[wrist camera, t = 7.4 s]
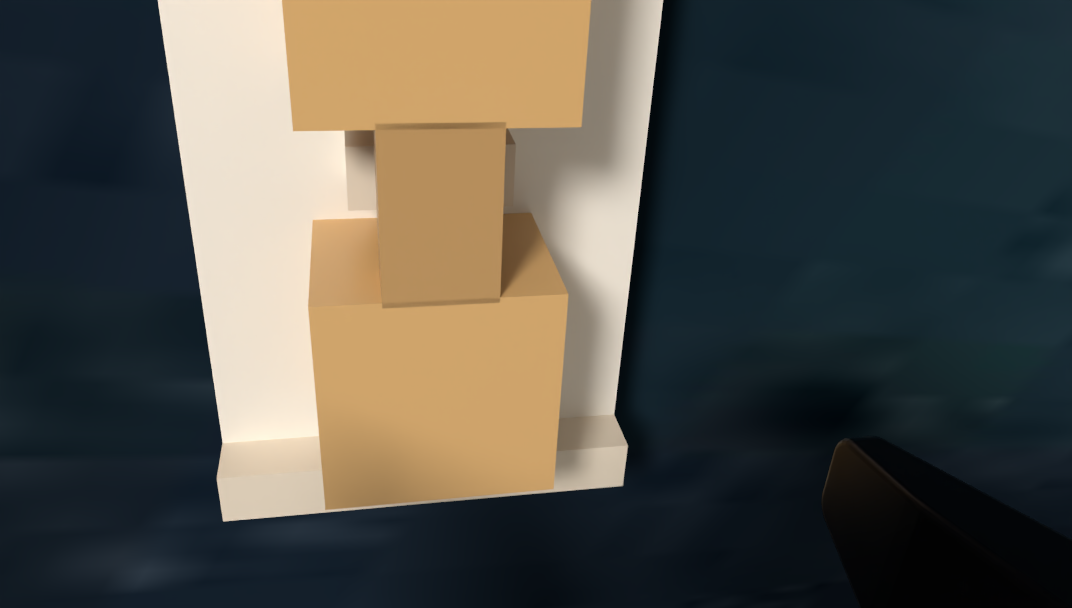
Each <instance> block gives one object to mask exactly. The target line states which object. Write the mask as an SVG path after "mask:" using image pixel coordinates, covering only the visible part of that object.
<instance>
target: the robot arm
mask: <svg viewBox="0 0 1072 608" xmlns="http://www.w3.org/2000/svg"><path fill="white" fill-rule="evenodd" d="M822 511H823V516H824V519H825V522H826V524H827V527H828V529H829V532H830V534H831V537H832V539H833V542H834V544H835V547H836V549H837V552H838V554H839V557H840V559H841V562H842V564H843V567H844V569H845V572H846V574H847V577H848V579H849V582H850V584H851V587H852V589H853V592H854V594H855V597H856V599H857V602H858V604H859V607H860V608H1072V540H1071V539H1069V538H1067V537H1066V536H1064V535H1062V534H1060V533H1058V532H1056V531H1054V530H1052V529H1051V528H1049V527H1047V526H1045V525H1043V524H1041V523H1039V522H1038V521H1036V520H1034V519H1032V518H1030V517H1028V516H1026V515H1024V514H1023V513H1021V512H1019V511H1017V510H1015V509H1013V508H1011V507H1009V506H1008V505H1006V504H1004V503H1002V502H1000V501H998V500H996V499H994V498H993V497H991V496H989V495H987V494H985V493H983V492H981V491H980V490H978V489H976V488H974V487H972V486H970V485H968V484H966V483H965V482H963V481H961V480H959V479H957V478H955V477H953V476H951V475H950V474H948V473H946V472H944V471H942V470H940V469H938V468H937V467H935V466H933V465H931V464H929V463H927V462H925V461H923V460H922V459H920V458H918V457H916V456H914V455H912V454H910V453H908V452H907V451H905V450H903V449H901V448H899V447H897V446H895V445H894V444H892V443H890V442H888V441H886V440H884V439H882V438H880V437H877V436H863V437H851V438H845V439H843V440H841V441H840V442H839V443H838V444H837V445H836V448H835V450H834V454H833V457H832V461H831V464H830V468H829V472H828V475H827V479H826V482H825V486H824V490H823V493H822Z"/></svg>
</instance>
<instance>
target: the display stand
mask: <svg viewBox="0 0 1072 608" xmlns="http://www.w3.org/2000/svg"><path fill="white" fill-rule="evenodd" d="M158 5H159V12H160V19H161V26H162V32H163V39H164V46H165V53H166V60H167V66H168V73H169V80H170V87H171V94H172V101H173V107H174V114H175V121H176V128H177V135H178V141H179V148H180V155H181V162H182V169H183V176H184V182H185V189H186V196H187V203H188V210H189V216H190V223H191V230H192V237H193V244H194V251H195V257H196V264H197V271H198V278H199V285H200V291H201V298H202V305H203V312H204V319H205V326H206V332H207V339H208V346H209V353H210V360H211V366H212V373H213V380H214V387H215V394H216V401H217V407H218V414H219V421H220V428H221V435H222V441H223V444H222V450H221V456H220V462H219V468H218V474H217V484H218V490H219V497H220V503H221V510H222V516H223V521H234V520H245V519H257V518H268V517H279V516H290V515H301V514H313V513H324V512H335V511H346V510H357V509H369V508H380V507H391V506H402V505H414V504H425V503H436V502H447V501H458V500H470V499H481V498H492V497H503V496H515V495H526V494H537V493H548V492H559V491H571V490H582V489H593V488H604V487H615V486H623V479H624V472H625V464H626V456H627V449H628V445H627V442H626V440H625V438H624V436H623V433H622V431H621V429H620V426H619V424H618V422H617V420H616V417H615V415H614V411H615V403H616V395H617V386H618V378H619V369H620V361H621V352H622V344H623V336H624V327H625V319H626V310H627V302H628V293H629V285H630V277H631V268H632V260H633V251H634V243H635V234H636V226H637V217H638V209H639V201H640V192H641V184H642V175H643V167H644V158H645V150H646V142H647V133H648V125H649V116H650V108H651V99H652V91H653V83H654V74H655V66H656V57H657V49H658V40H659V32H660V23H661V15H662V7H663V0H591V10H590V23H589V36H588V49H587V62H586V74H585V87H584V100H583V113H582V126H581V127H568V128H506V148H505V177H504V206H503V214H510V213H532V215H533V218H534V220H535V222H536V224H537V226H538V229H539V231H540V233H541V235H542V237H543V239H544V242H545V244H546V246H547V248H548V250H549V253H550V255H551V257H552V259H553V261H554V263H555V266H556V268H557V270H558V272H559V274H560V277H561V279H562V281H563V283H564V285H565V288H566V290H567V292H568V294H569V295H568V308H567V321H566V334H565V347H564V360H563V373H562V386H561V399H560V412H559V425H558V438H557V451H556V464H555V477H554V489H549V490H538V491H527V492H516V493H505V494H495V495H484V496H473V497H462V498H451V499H440V500H429V501H418V502H407V503H396V504H385V505H374V506H363V507H353V508H342V509H331V510H325V499H324V488H323V476H322V464H321V453H320V441H319V429H318V418H317V406H316V394H315V382H314V371H313V359H312V347H311V336H310V324H309V312H308V299H309V280H310V261H311V241H312V222H313V220H322V219H354V218H377V208H376V183H375V158H374V133H373V130H351V131H293V125H292V114H291V102H290V90H289V78H288V67H287V55H286V43H285V32H284V20H283V8H282V0H158Z"/></svg>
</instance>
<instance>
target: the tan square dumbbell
mask: <svg viewBox="0 0 1072 608" xmlns="http://www.w3.org/2000/svg"><path fill="white" fill-rule="evenodd" d="M282 8H283V20H284V32H285V43H286V55H287V67H288V78H289V90H290V102H291V114H292V125H293V131H351V130H373V133H374V158H375V183H376V208H377V218H354V219H322V220H313V222H312V241H311V261H310V280H309V299H308V312H309V324H310V336H311V347H312V359H313V371H314V382H315V394H316V406H317V418H318V429H319V441H320V453H321V464H322V476H323V488H324V499H325V510H331V509H342V508H353V507H363V506H374V505H385V504H396V503H407V502H418V501H429V500H440V499H451V498H462V497H473V496H484V495H495V494H505V493H516V492H527V491H538V490H549V489H554V477H555V464H556V451H557V438H558V425H559V412H560V399H561V386H562V373H563V360H564V347H565V334H566V321H567V308H568V295H569V294H568V292H567V290H566V288H565V285H564V283H563V281H562V279H561V277H560V274H559V272H558V270H557V268H556V266H555V263H554V261H553V259H552V257H551V255H550V253H549V250H548V248H547V246H546V244H545V242H544V239H543V237H542V235H541V233H540V231H539V229H538V226H537V224H536V222H535V220H534V218H533V215H532V213H510V214H503V206H504V177H505V148H506V128H568V127H581V126H582V113H583V100H584V87H585V74H586V62H587V49H588V36H589V23H590V10H591V0H282Z"/></svg>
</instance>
